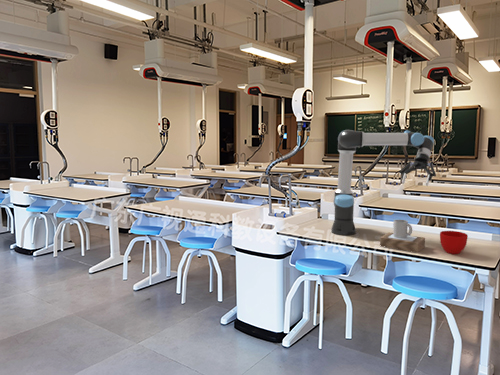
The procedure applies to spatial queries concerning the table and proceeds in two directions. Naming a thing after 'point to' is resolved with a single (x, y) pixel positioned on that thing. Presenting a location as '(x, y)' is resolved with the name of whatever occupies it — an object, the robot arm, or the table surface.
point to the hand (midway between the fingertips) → (414, 183)
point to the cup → (401, 229)
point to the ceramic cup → (453, 241)
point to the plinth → (403, 242)
